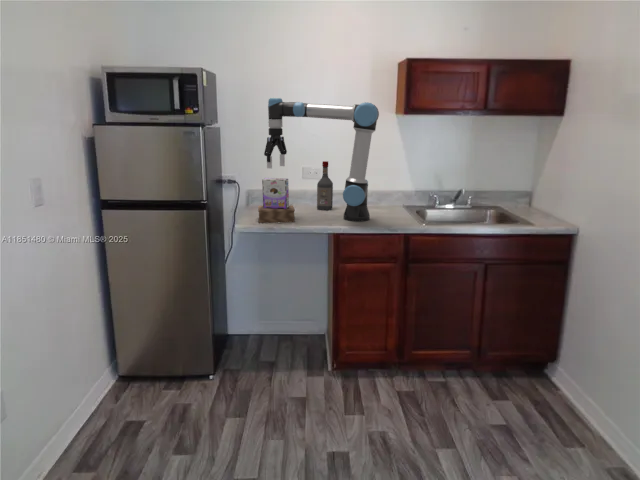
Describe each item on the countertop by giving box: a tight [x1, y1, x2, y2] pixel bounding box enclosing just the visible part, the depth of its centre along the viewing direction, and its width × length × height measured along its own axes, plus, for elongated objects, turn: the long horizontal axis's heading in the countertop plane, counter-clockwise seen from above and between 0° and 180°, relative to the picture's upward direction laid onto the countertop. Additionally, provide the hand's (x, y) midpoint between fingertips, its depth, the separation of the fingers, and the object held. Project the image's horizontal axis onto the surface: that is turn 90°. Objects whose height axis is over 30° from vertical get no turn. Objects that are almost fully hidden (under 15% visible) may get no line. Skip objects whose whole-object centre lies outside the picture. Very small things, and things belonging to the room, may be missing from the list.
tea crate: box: [257, 204, 296, 224], centre depth 273 cm, size 20×14×7 cm
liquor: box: [316, 160, 334, 211], centre depth 304 cm, size 9×9×30 cm
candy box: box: [261, 177, 290, 209], centre depth 270 cm, size 14×6×16 cm, turn 79°
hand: (276, 167), depth 267 cm, fingers open, 13 cm apart
